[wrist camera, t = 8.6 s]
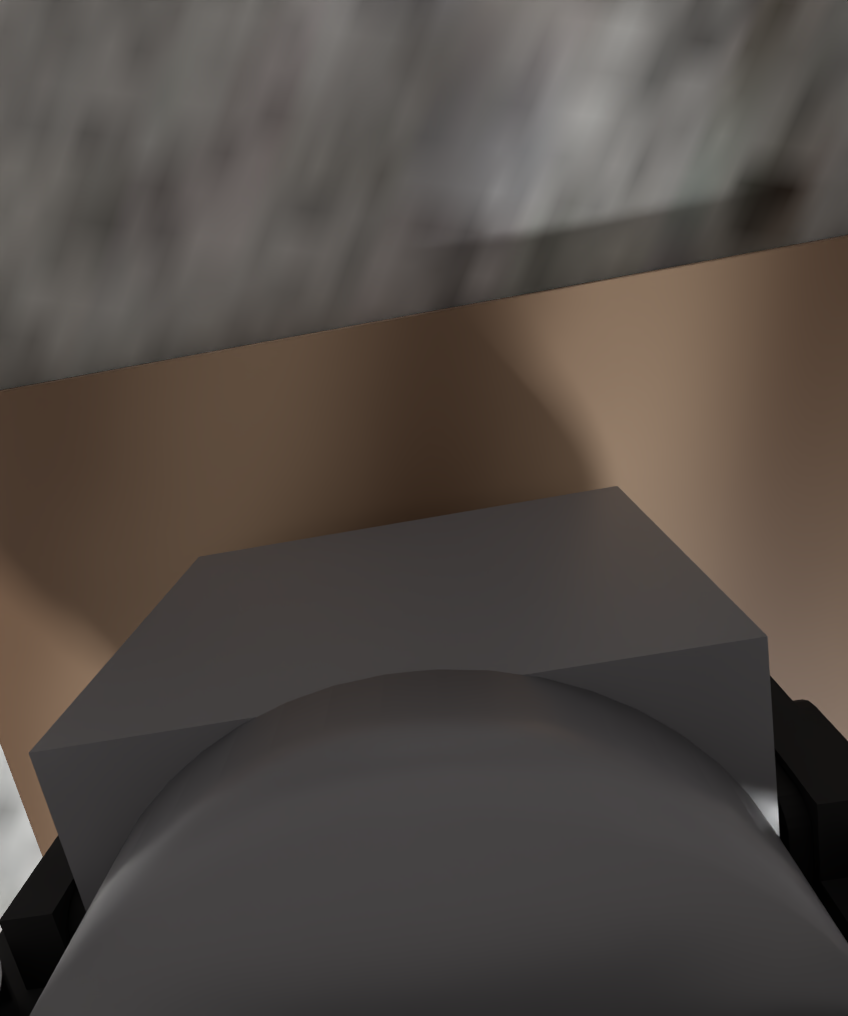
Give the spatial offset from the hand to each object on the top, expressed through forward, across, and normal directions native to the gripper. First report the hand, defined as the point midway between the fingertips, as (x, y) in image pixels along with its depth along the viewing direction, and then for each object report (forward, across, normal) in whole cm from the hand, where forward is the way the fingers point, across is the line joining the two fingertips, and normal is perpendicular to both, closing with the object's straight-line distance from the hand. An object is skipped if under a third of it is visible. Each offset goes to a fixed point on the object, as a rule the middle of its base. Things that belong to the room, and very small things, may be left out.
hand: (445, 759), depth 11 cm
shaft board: (+3, 0, 0) cm, 3 cm away
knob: (+1, 0, 0) cm, 1 cm away
